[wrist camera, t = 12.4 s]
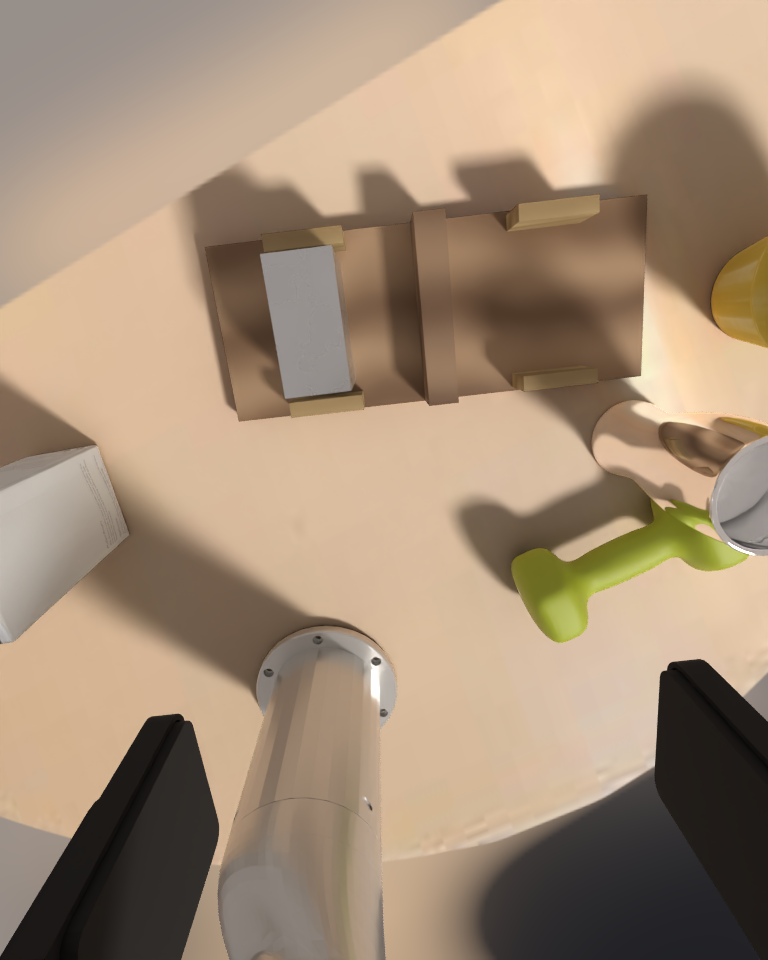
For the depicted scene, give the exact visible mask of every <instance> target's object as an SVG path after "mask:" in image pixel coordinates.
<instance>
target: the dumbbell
mask: <svg viewBox="0 0 768 960" xmlns="http://www.w3.org/2000/svg"><path fill="white" fill-rule="evenodd" d="M651 508H652V512H653V515H654V520H653V522H652V523H651V524H649V525H648V526H645V527H643V528H640V529H637V530H634V531H631V532H629V533H627V534H624V535H622V536H620V537H618V538H615V539H613V540H611V541H609V542H607V543H605V544H603V545H601V546H599V547H597V548H595V549H593V550H591V551H589V552H588V553H586V554H584V555H583V556H581V557H580V558H578V559H576V560H574V561H570V562H565V561H562V560H561V559H559V558H558V557H557V556H556V555H554V554H553V553H552V552H551V551H549V550H547V549H544V548H535V549H532V550H529V551H527V552H525V553H523V554H521V555H519V556H517V557H516V558H515V559H514V560H513V562H512V565H511V572H512V576H513V579H514V582H515V585H516V587H517V590H518V592H519V594H520V596H521V599H522V601H523V602H524V604H525V606H526V608H527V610H528V612H529V614H530V615H531V617H532V619H533V620H534V622H535V623H536V624H537V626H538V627H539V628H540V630H541V631H542V632H543V633H544V634H545V635H546V636H547V637H549V638H550V639H551V640H553V641H555V642H558V643H563V642H566V641H569V640H571V639H573V638H575V637H577V636H579V635H581V634H582V633H583V632H584V631H585V630H586V627H587V623H588V612H587V602H588V599H589V597H590V596H591V595H592V594H594V593H596V592H599V591H601V590H604V589H608V588H611V587H613V586H615V585H618V584H620V583H622V582H624V581H627V580H629V579H631V578H633V577H635V576H637V575H639V574H642V573H644V572H646V571H648V570H650V569H652V568H654V567H656V566H657V565H659V564H660V563H662V562H664V561H665V560H667V559H669V558H672V557H679V558H681V559H682V560H683V561H684V562H686V563H687V564H688V565H690V566H691V567H693V568H695V569H698V570H702V571H718V570H723V569H726V568H729V567H731V566H734V565H736V564H738V563H740V562H743V561H744V560H746V559H747V557H748V556H749V554H745V553H741V552H739V551H736V550H734V549H733V548H731V547H729V546H728V545H726V544H724V543H721V542H719V541H717V540H714V539H712V538H710V537H708V536H706V535H704V534H702V533H700V532H698V531H696V530H694V529H692V528H690V527H689V526H687V525H685V524H683V523H682V522H680V521H678V520H677V519H676V518H674V517H673V516H671V515H670V514H668V513H667V512H665V511H664V510H663V509H662V508H661V507H660V506H659V505H657V504H656V503H655V502H654V501H653V500H652V499H651Z"/></svg>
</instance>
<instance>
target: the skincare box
mask: <svg viewBox="0 0 768 960" xmlns="http://www.w3.org/2000/svg"><path fill="white" fill-rule="evenodd" d="M128 536H129V531H128V529H127V526H126V523H125V520H124V518H123V515H122V512H121V509H120V506H119V504H118V501H117V498H116V495H115V493H114V490H113V487H112V484H111V482H110V479H109V476H108V473H107V471H106V468H105V466H104V464H103V461H102V458H101V455H100V452H99V449H98V446H97V445H91V446H85V447H80V448H74V449H68V450H63V451H57V452H52V453H46V454H41V455H35V456H29V457H25V458H23V459H20V460H18V461H15V462H13V463H10V464H8V465H5V466H3V467H0V644H3V643H10V642H14V641H15V640H16V639H17V638H18V637H20V636H21V635H22V634H23V633H24V632H25V631H26V630H27V629H28V628H29V627H30V626H31V625H32V624H33V623H35V622H36V621H37V620H38V619H39V618H40V617H41V616H42V615H43V614H44V613H45V612H46V611H48V610H49V609H50V608H51V607H52V606H53V605H54V604H55V603H56V602H57V601H58V600H59V599H60V598H62V597H63V596H64V595H65V594H66V593H67V592H68V591H69V590H70V589H71V588H73V587H74V586H75V585H76V584H77V583H78V582H79V581H80V580H81V579H82V578H83V577H84V576H85V575H87V574H88V573H89V572H90V571H91V570H92V569H93V568H94V567H95V566H96V565H97V564H98V563H99V562H101V561H102V560H103V559H104V558H105V557H106V556H107V555H108V554H109V553H110V552H111V551H113V550H114V549H115V548H116V547H117V546H118V545H119V544H120V543H121V542H122V541H123V540H124V539H126V538H127V537H128Z"/></svg>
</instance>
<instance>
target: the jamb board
mask: <svg viewBox="0 0 768 960" xmlns="http://www.w3.org/2000/svg"><path fill="white" fill-rule="evenodd" d="M646 217H647V195H639V196H631V197H622V198H614V199H606V200H600V194H597V195H589V196H580V197H572V198H563V199H555V200H546V201H538V202H530V203H521V204H518V205H517V206H516V207H515V208H514V209H512V210H511V211H504V212H496V213H488V214H479V215H471V216H462V217H454V218H446V209H445V208H441V209H433V210H424V211H416V212H413V214H412V217H411V221H410V223H403V224H395V225H386V226H378V227H370V228H361V229H353V230H344V231H343V229H342V226H341V225H336V226H328V227H319V228H311V229H302V230H294V231H286V232H277V233H269V234H261V236H262V240H260V241H252V242H243V243H235V244H226V245H218V246H209V247H205V250H206V256H207V261H208V266H209V271H210V276H211V281H212V286H213V291H214V297H215V302H216V307H217V312H218V317H219V322H220V327H221V333H222V338H223V343H224V348H225V353H226V358H227V363H228V368H229V374H230V379H231V384H232V389H233V394H234V399H235V404H236V410H237V415H238V420H239V421H248V420H256V419H265V418H274V417H283V416H291V418H293V417H302V416H311V415H320V414H329V413H338V412H346V411H355V410H364V407H371V406H380V405H389V404H398V403H407V402H415V401H424V400H425V401H426V402H427V403H428V404H429V406H432V405H441V404H450V403H458V402H459V400H458V397H459V396H468V395H477V394H486V393H495V392H504V391H512V390H522V391H532V390H541V389H549V388H558V387H567V386H576V385H585V384H594V383H598V381H601V380H609V379H618V378H627V377H636V376H641V360H642V331H643V303H644V274H645V246H646ZM328 245H332V247H333V249H334V251H335V253H336V255H337V257H338V260H339V262H340V265H341V272H342V280H343V287H344V295H345V302H346V310H347V317H348V325H349V332H350V340H351V348H352V355H353V363H354V370H355V378H356V382H355V384H354V386H353V388H352V391H345V392H337V393H329V394H321V395H313V396H304V397H296V398H288V399H285V395H284V390H283V384H282V378H281V372H280V367H279V361H278V355H277V350H276V344H275V338H274V332H273V327H272V321H271V315H270V309H269V304H268V298H267V292H266V286H265V281H264V275H263V269H262V263H261V258H260V254H265V253H273V252H281V251H289V250H297V249H305V248H312V247H320V246H328Z"/></svg>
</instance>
